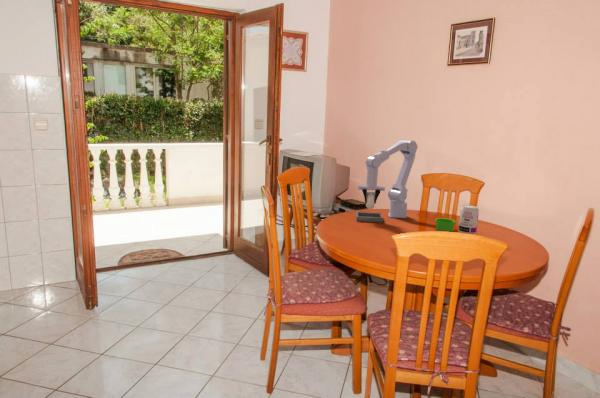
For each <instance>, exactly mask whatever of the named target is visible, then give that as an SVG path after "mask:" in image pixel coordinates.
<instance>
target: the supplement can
mask: <svg viewBox="0 0 600 398" xmlns="http://www.w3.org/2000/svg"><path fill="white" fill-rule="evenodd" d="M479 213H480V210H479V207H478V206H476V205H470V204H464V205H462V206H461V208H460V213H459V223H458V229H457V231H458V232H462V233H469V234H476V235H477V229H478V223H479V221H478V220H479ZM458 232H457V233H458Z"/></svg>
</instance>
